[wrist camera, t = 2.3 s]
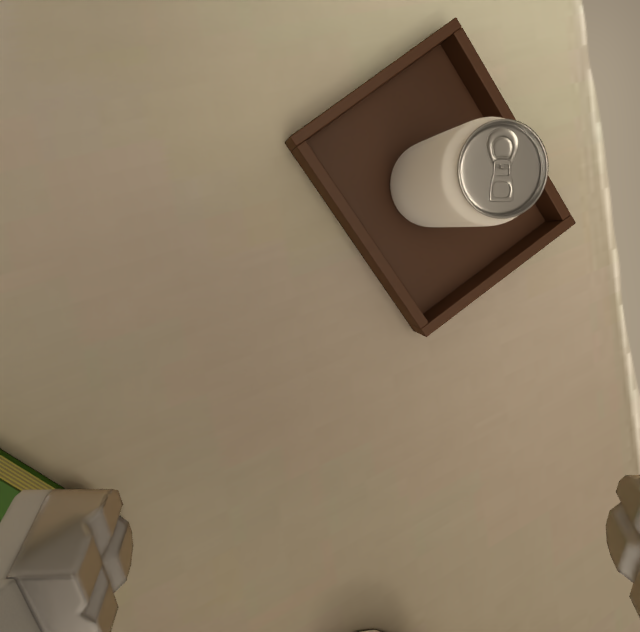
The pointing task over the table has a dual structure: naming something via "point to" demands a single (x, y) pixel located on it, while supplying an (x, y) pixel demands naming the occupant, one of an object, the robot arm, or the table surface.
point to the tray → (376, 168)
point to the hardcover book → (19, 480)
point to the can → (471, 175)
